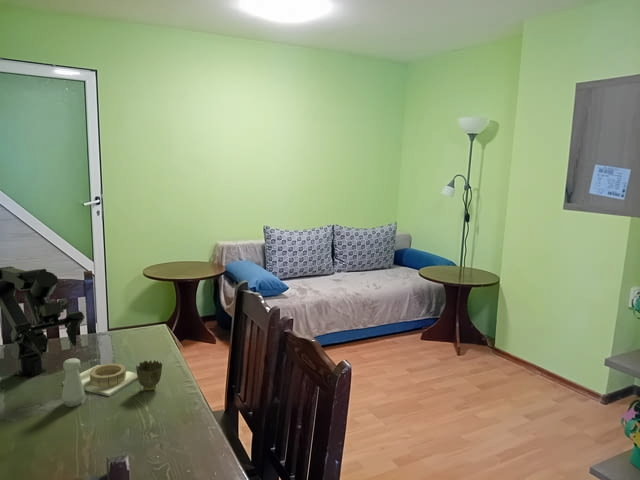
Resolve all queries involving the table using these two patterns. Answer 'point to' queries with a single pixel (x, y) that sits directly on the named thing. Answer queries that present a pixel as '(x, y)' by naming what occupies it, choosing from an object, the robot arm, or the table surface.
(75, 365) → the salt shaker
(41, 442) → the table surface
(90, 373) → the socket
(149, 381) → the cup
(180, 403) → the table surface
